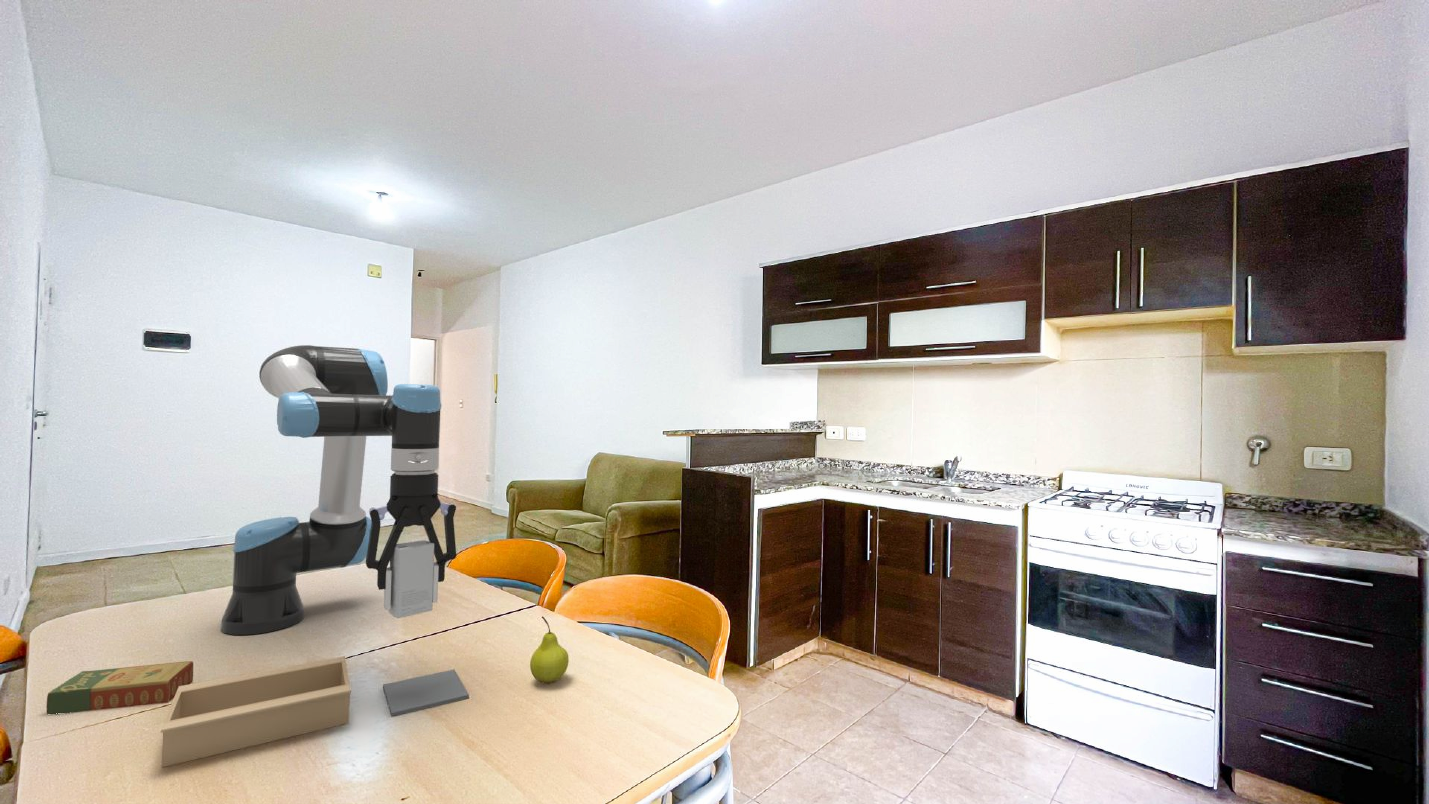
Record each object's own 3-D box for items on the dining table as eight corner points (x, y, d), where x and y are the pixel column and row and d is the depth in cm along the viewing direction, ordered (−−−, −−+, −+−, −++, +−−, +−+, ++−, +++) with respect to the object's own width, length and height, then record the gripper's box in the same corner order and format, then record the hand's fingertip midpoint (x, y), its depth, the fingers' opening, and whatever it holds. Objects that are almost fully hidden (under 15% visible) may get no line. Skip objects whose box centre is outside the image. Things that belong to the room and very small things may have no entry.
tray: (177, 724, 94) (178, 686, 94) (343, 690, 107) (344, 656, 107) (158, 774, 82) (160, 730, 82) (349, 728, 94) (350, 690, 94)
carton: (168, 705, 101) (169, 679, 101) (44, 718, 96) (44, 691, 96) (193, 682, 109) (194, 659, 109) (80, 694, 104) (80, 669, 104)
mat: (383, 687, 108) (383, 684, 108) (454, 672, 115) (454, 669, 115) (391, 716, 98) (391, 713, 98) (468, 698, 105) (469, 694, 105)
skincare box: (422, 605, 109) (425, 538, 109) (433, 611, 106) (436, 542, 106) (386, 613, 104) (389, 543, 104) (396, 620, 101) (399, 548, 101)
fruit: (575, 677, 114) (576, 613, 114) (554, 692, 108) (556, 625, 108) (544, 671, 116) (546, 609, 117) (522, 686, 110) (523, 620, 110)
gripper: (350, 476, 97) (346, 620, 96) (478, 472, 108) (474, 601, 107) (348, 472, 103) (344, 606, 103) (469, 468, 114) (465, 590, 114)
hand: (410, 603), depth 105 cm, fingers closed on skincare box, 7 cm apart
